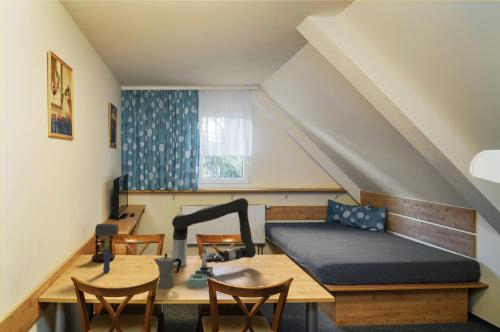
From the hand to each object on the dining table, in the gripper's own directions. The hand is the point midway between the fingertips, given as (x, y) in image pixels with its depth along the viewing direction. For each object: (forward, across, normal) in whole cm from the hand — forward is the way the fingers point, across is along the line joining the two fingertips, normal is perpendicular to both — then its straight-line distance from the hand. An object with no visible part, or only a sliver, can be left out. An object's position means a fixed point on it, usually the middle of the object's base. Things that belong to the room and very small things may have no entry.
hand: (203, 259), depth 219 cm
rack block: (+10, +11, +10) cm, 18 cm away
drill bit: (0, 0, +10) cm, 10 cm away
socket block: (0, 0, +10) cm, 10 cm away
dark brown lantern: (+44, -64, +10) cm, 78 cm away
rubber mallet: (+48, -35, +10) cm, 61 cm away
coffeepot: (+25, +6, +10) cm, 28 cm away
